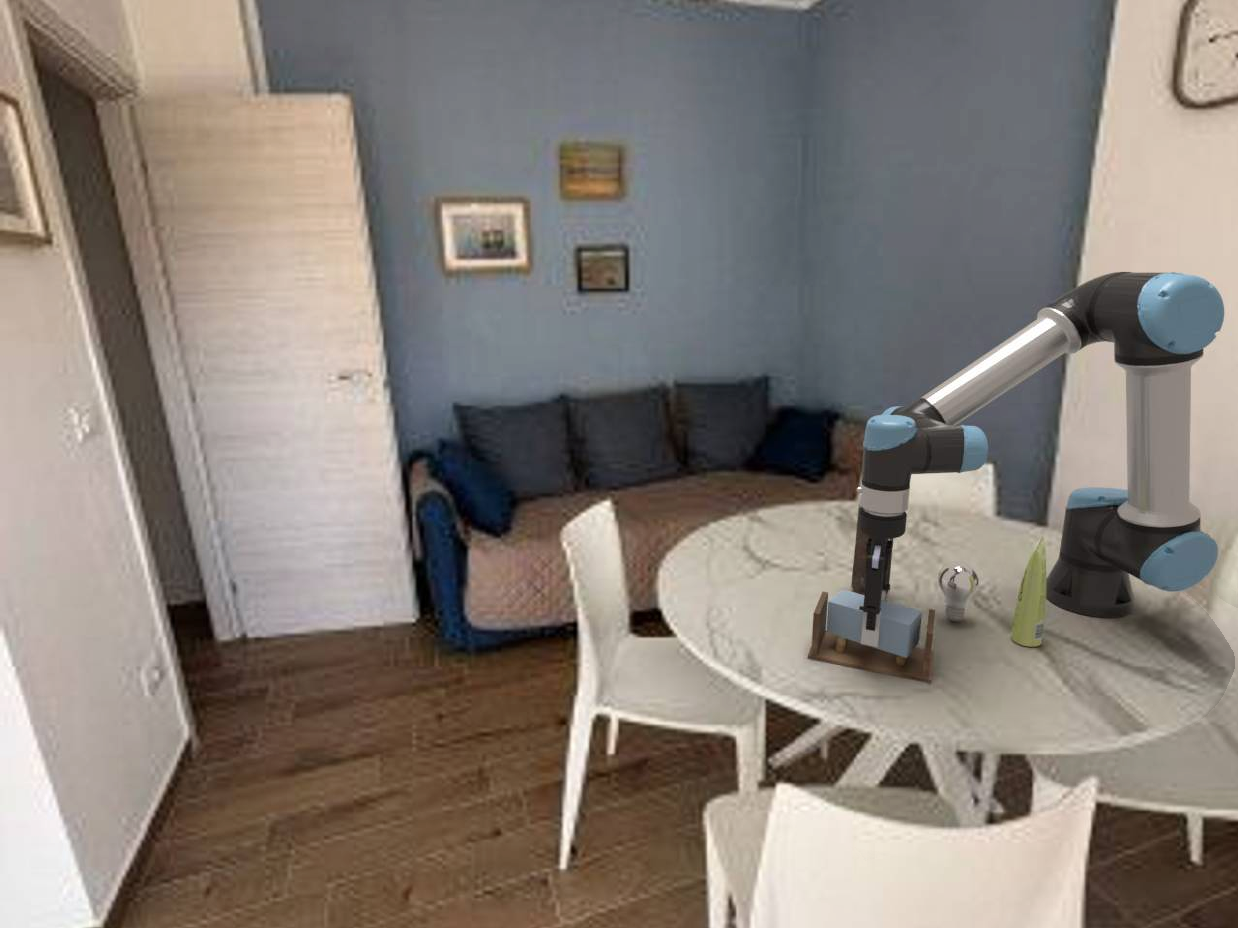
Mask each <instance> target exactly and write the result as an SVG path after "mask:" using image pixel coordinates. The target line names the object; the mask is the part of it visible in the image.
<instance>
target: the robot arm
mask: <svg viewBox="0 0 1238 928" xmlns="http://www.w3.org/2000/svg"><path fill="white" fill-rule="evenodd" d="M1224 318H1225V305H1224V300H1223V298H1222V295H1221V293H1220V292H1219V290H1218V288H1216V286H1215V285H1214V284H1212V283H1211V282H1209V281H1208V280H1207V279H1205V278H1204V277H1200V276H1198V275H1193V274H1184V273H1183V272H1182V273H1181V272H1175V271H1174V272H1173V271H1172V272H1132V271H1117V272H1116V271H1115V272H1110V273H1106V274H1104V275H1101V276H1098V277H1094V278H1093V279H1091V280H1087V281H1085V282H1084V283H1082V284H1080V285H1078V286H1076V287H1074V288H1072V289H1071V290H1069V291H1067V292H1066V293H1064V294H1063V295H1061V296H1060V297H1058V298H1057V299H1054V300H1053V301H1051V302H1050V303H1049V304H1047V305H1046V306H1044V307H1043V308H1041V309H1040V310H1039V311H1038V312H1037V316H1036V319H1035V320H1034V321H1033V322H1031V323H1030V324H1029V323H1028V325H1027V326H1025V327H1024V328H1022V329H1020V330H1019V331H1017V332H1016V333H1015V334H1013V335H1011V336H1009V338H1007V339H1005V340H1004V341H1003V342H1001V343H1000V344H999V345H997V346H995V347H994V348H992V349H991V350H990V351H988V352H987V353H985V354H983V355H982V356H980V357H979V358H978V359H976V360H974V361H973V362H971V363H970V364H968V365H967V366H965V368H963V369H962V370H960V371H958V372H957V373H955V374H954V375H952V376H951V377H949V378H948V379H946V380H945V381H944V382H942V383H940V384H939V385H938V386H936V387H934V389H932V390H930V391H929V392H927V393H925V394H924V395H923V396H922V397H920V398H918V399H917V400H915V401H914V402H912V403H911V404H909V405H908V406H905V405H904V406H903V405H902V406H900V405H899V406H897V405H896V406H892V407H889V408H887V409H886V410H884V412H883V413H882V414H879V415H878V414H877V415H873V416H872V417H870V418H869V419H868V420H867V422H866V426H865V430H864V435H863V436H864V437H863V442H862V447H863V450H862V452H863V454H862V469H861V472H862V473H861V480H860V483H861V484H860V486H857V488H856V492H857V493H858V494H860V496H859V503H860V506H861V508H860V509H859V508H858V509H859V514H858V513H857V520H858V529H859V531H860V532H862V533H863V534H865V535H868V536H870V537H871V538H869V539H868V543H867V546H866V553H867V559H866V569H867V574H866V585H865V595H864V606H860V607H859V610H863V624H862V636H861V644H864V645H869V646H874V647H878V640H879V629H880V618H881V608H880V606H881V600H883V601H886V595H887V594H886V591H882V589H884V590H889V591H891V584H890V583H889V584H886V581H887V580H888V577H887V571H888V563H889V562H890V557H891V551H892V552H893V548H894V540H893V541H890V538H893V539H897V538H901V537H902V536H903V535H905V533H906V530H907V529H906V527H907V517H908V514H907V512H906V511H907V510H908V509H909V502H910V501H909V500H910V493H911V492H910V491H911V478H912V475H925V474H948V473H949V474H950V473H957V474H961V473H966V472H973V471H977V470H979V469H981V468H982V467H983V466H984V464H986V461H987V458H988V451H989V443H988V439H987V436H986V434H985V432H984V431H983V430H982V429H981V428H980V427H978V426H975V425H964V424H960V423H961V422H963V421H964V420H965V419H967V418H969V417H971V416H972V415H973V414H975V413H976V412H978V411H979V410H981V409H982V408H984V407H985V406H987V405H988V404H989V403H991V402H993V401H994V400H995V399H998V398H1000V396H1002V395H1003V394H1005V393H1006V392H1008V391H1010V390H1011V389H1012V388H1014V387H1016V386H1017V385H1018V384H1020V383H1022V382H1023V381H1025V380H1026V379H1027V378H1029V377H1031V376H1032V375H1033V374H1035V373H1037V372H1038V371H1040V370H1041V369H1043V368H1044V367H1046V366H1047V365H1049V364H1050V363H1052V362H1053V361H1055V360H1056V359H1058V358H1059V357H1061V356H1062V355H1064V354H1069V355H1070V354H1076V353H1077V352H1078V351H1081V350H1082V349H1083V348H1085V347H1087V346H1089V345H1092V344H1097V343H1102V342H1109V343H1113V355H1114V363H1115V364H1116V365H1117V366H1119V367H1120V368H1122V369H1123V370H1124V371H1125V401H1126V402H1125V404H1126V407H1125V409H1126V411H1125V412H1126V413H1125V414H1126V415H1125V416H1126V418H1125V419H1126V465H1127V467H1126V468H1127V471H1126V473H1127V475H1126V476H1127V479H1126V480H1127V487H1126V488H1127V489H1122V488H1116V487H1115V488H1114V487H1098V486H1097V487H1095V486H1094V487H1093V486H1092V487H1081V488H1077V489H1074V490H1073V491H1071V493H1070V494H1069V496H1068V499H1067V504H1066V506H1065V508H1064V509H1065V511H1064V517H1063V518H1064V520H1063V526H1062V533H1061V541H1060V547H1059V555H1058V559H1057V560H1056V561H1055V564H1054V565H1053V567H1052V569H1051V571H1050V572H1049V573H1048V575H1047V576H1046V600H1049V602H1051V604H1054V605H1056V606H1057V607H1060V608H1062V609H1065V610H1067V611H1069V612H1073V613H1075V614H1076V613H1077V614H1080V615H1084V616H1088V617H1089V616H1091V617H1098V618H1119V617H1124V616H1127V615H1129V614H1131V613H1132V611H1133V606H1134V601H1135V598H1134V592H1133V587H1132V583H1131V577H1130V575H1131V576H1132V577H1134V578H1136V579H1137V580H1140V581H1141V582H1142V583H1144V584H1146V585H1149V586H1152V587H1155V588H1157V589H1158V590H1160V591H1165V592H1171V593H1172V592H1173V593H1175V592H1181V591H1185V590H1188V589H1191V588H1193V587H1194V586H1196V585H1197V584H1199V583H1200V582H1202V581H1203V580H1204V579H1205V577H1207V576H1208V575H1209V574H1210V573H1211V572H1212V571H1213V568H1214V567H1215V566H1216V562H1217V560H1218V557H1219V546H1218V544H1217V541H1216V540H1215V539H1214V538H1212V536H1211V535H1210V534H1208V533H1207V532H1204V531H1202V530H1201V514H1202V513H1201V511H1200V510H1201V509H1199V507H1197V506H1196V505H1195V504H1193V503H1192V502H1190V491H1191V490H1190V486H1191V485H1190V483H1191V481H1190V480H1191V477H1190V474H1191V472H1190V471H1191V406H1192V405H1191V398H1192V395H1191V394H1192V392H1191V391H1192V390H1191V389H1192V366H1194V365H1195V364H1196V363H1198V362H1199V361H1200V360H1201V359H1202V358H1203V357H1204V349H1205V348H1207V347H1209V345H1210V344H1211V343H1212V342H1214V340H1215V339H1216V338H1217V335H1216V333H1217V332H1220V331H1221V329H1222V326H1223V323H1224V321H1225V320H1224ZM958 424H960V425H958ZM885 594H886V595H885Z"/></svg>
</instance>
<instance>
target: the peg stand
mask: <svg viewBox="0 0 1238 928" xmlns="http://www.w3.org/2000/svg"><path fill="white" fill-rule="evenodd" d="M828 599H829V592H828V591H822V592H821V594H820V596H819V600H818V601H817V604H816V607H815V608H814V611H813V615H812V616H813V617H812V636H811V645H810V649H809V651H808V654H807V659H809V660H814V661H820V662H825V663H829V664H835V665H839V666H840V665H841V666H845V667H849V668H853V669H860V670H864V671H865V670H866V671H869V672H874V673H880V674H885V675H889V676H893V677H894V676H896V677H900V678H904V679H909V680H913V681H919V682H924V683H929V684H931V683H932V680H933V679H932V678H933V667H934V658H935V657H934V656H935V654H934V653H935V650H934V649H932V648H933V639H934V629H935V617H936V609H934V608H933V609H932V608H928V614H927V615H928V616H927V624H926V625H927V626H926V636H925V644H924V648H923V647H919V646H916V647H915V648H914V650H913V651H912V652H911V653H910V654H909V656H908V657H907V658H905V657H902V656H899V655H896V654H893V653H890V652H887V651H884V650H880V649H877V648H874V647H871V646H868V645H864V644H861V643H858V642H855V641H852V640H849V639H846V638H843V637H840V636H837V635H833V634H830V633H827V632H826V631H827V615H828V601H829V600H828Z"/></svg>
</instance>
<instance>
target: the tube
mask: <svg viewBox="0 0 1238 928" xmlns="http://www.w3.org/2000/svg"><path fill="white" fill-rule="evenodd" d="M1045 544H1046V543H1045V540H1044V534H1043V533H1042V534H1041V536H1040V538H1039V539H1038V541H1037V543H1036V544H1035V546H1034V547H1033V550H1032V552H1031V554H1030V556H1029V559H1028V560H1027V564H1026V566H1025V571H1024V573H1023V576H1022V580H1021V583H1020V586H1019V590H1018V595H1017V598H1016V605H1015V610H1014V614H1013V620H1012V621H1013V622H1012V627H1011V632H1010V633H1011V634H1010V638H1011V640H1012V641H1013V642H1015V643H1016V644H1018V645H1020V646H1024V647H1032V648H1033V647H1039V646H1041V645H1042V643H1043V637H1044V636H1043V634H1044V626H1045V616H1046V605H1047V601H1046V600H1047V598H1046V579H1047V554H1046V545H1045Z"/></svg>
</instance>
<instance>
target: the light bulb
mask: <svg viewBox="0 0 1238 928" xmlns="http://www.w3.org/2000/svg"><path fill="white" fill-rule="evenodd" d="M939 571H940V572H939V573H938V578H937V579H938V580H937V581H938V586H939V589H940V590H941V592H942V593H943V597H944V602H945V611H944V614H945V616H946V618H947V619H949V621H950V622H953V623H957V622H959V621H960V620H962V619H964V618H965V611H966V607H967V605H968V603H969V600H970V599H971V598H972V597H973V596H974V595H975V593H977V591H978V589H979V585H980V577H979V574H978V573H977V571H976V569H975V568H974V567H973V566H972V565H970V564H968V563H966V562H965V561H959V560H958V561H952V562H951V561H950V562H948V563H947V564H945V565H944V566H943V567H942V568H941V570H939Z"/></svg>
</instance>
